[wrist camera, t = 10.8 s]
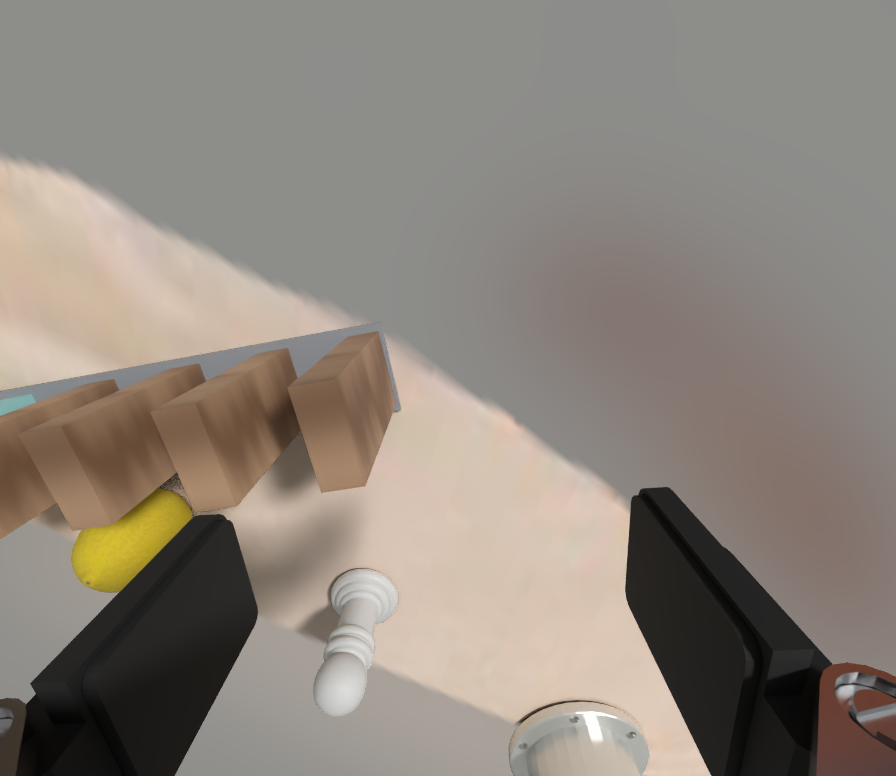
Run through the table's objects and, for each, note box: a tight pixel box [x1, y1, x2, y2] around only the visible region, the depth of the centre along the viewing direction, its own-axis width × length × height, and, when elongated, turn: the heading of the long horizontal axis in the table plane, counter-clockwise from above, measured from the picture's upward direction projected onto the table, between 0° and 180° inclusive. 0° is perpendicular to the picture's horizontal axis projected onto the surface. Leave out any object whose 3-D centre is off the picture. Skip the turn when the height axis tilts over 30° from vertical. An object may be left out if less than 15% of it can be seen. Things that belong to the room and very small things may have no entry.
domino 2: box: [18, 364, 206, 531], centre depth 23 cm, size 5×2×10 cm, turn 10°
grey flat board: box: [0, 322, 401, 412], centre depth 28 cm, size 6×28×1 cm, turn 100°
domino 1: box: [0, 379, 120, 539], centre depth 23 cm, size 5×2×10 cm, turn 10°
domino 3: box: [150, 348, 301, 513], centre depth 23 cm, size 5×2×10 cm, turn 10°
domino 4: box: [287, 331, 396, 493], centre depth 22 cm, size 5×2×10 cm, turn 10°
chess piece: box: [313, 569, 398, 717], centre depth 29 cm, size 5×5×9 cm
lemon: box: [72, 488, 193, 592], centre depth 27 cm, size 6×6×8 cm
